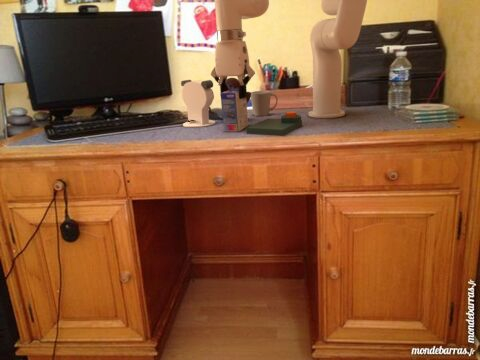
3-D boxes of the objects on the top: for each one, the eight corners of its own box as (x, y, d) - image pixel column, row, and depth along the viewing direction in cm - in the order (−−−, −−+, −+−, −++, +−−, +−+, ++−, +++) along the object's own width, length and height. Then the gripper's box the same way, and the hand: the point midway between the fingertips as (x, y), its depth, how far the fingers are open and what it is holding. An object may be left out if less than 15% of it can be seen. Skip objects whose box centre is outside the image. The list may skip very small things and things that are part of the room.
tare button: (288, 116, 123) (288, 111, 123) (297, 116, 122) (297, 111, 121) (284, 118, 121) (284, 113, 120) (293, 118, 119) (293, 113, 119)
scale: (268, 124, 129) (267, 113, 128) (303, 125, 123) (303, 114, 122) (246, 133, 117) (246, 122, 116) (285, 136, 111) (284, 124, 110)
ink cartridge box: (233, 125, 130) (230, 81, 125) (248, 125, 129) (246, 80, 124) (222, 131, 122) (219, 84, 117) (238, 132, 120) (236, 84, 115)
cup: (251, 113, 150) (250, 91, 147) (277, 112, 150) (276, 89, 147) (251, 117, 143) (250, 93, 140) (278, 115, 142) (277, 92, 140)
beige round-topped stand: (223, 122, 137) (220, 78, 132) (202, 128, 129) (197, 82, 124) (197, 120, 144) (194, 78, 139) (176, 126, 136) (171, 82, 131)
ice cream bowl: (249, 122, 133) (247, 77, 128) (218, 123, 135) (214, 79, 130) (254, 117, 143) (252, 75, 138) (225, 117, 145) (222, 76, 140)
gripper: (261, 35, 115) (263, 96, 121) (212, 38, 123) (217, 96, 129) (249, 35, 109) (252, 100, 115) (199, 39, 117) (204, 99, 123)
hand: (233, 97), depth 122 cm, fingers closed on ink cartridge box, 5 cm apart
